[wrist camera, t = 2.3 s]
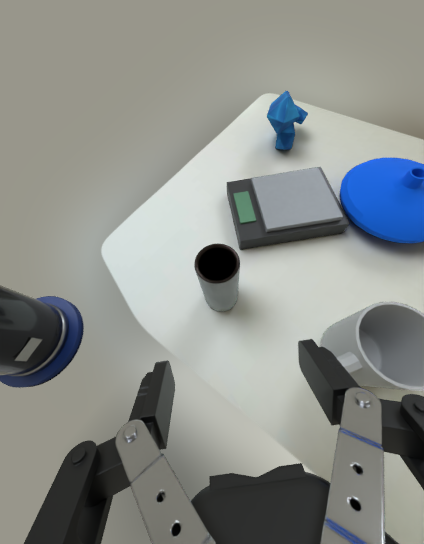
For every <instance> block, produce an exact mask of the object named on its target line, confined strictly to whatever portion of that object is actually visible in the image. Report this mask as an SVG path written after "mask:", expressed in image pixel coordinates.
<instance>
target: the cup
mask: <svg viewBox="0 0 424 544" xmlns="http://www.w3.org/2000/svg"><path fill="white" fill-rule="evenodd" d="M321 347H325V348H326V349H328V350H329V351H331V352H332V353H333V354H334V356H335V357H336V358H337V360H339V362H340V363H341V364H342V366H343V367H344V368H345V369H346V370H347V371H348V373H349V374H350V375H351V376H352V378H353V379H354V380H355V381H356V382H357V384H358V385H359V386H368V387H380V388H391V389H403V390H424V314H423V313H421V312H420V311H418V310H417V309H415V308H412V307H410V306H408V305H405V304H401V303H397V302H380V303H376V304H373V305H371V306H369V307H367V308H365V309H363V310H361V311H359V312H357V313H355V314H353V315H351V316H349V317H347V318H345V319H343V320H341V321H339V322H337V323H335V324H333V325H332V326H330V327H329V328H328V329H327V330H326V331H325V332H324V334H323V336H322V339H321Z"/></svg>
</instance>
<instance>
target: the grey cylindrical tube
mask: <svg viewBox="0 0 424 544" xmlns="http://www.w3.org/2000/svg"><path fill="white" fill-rule="evenodd" d="M195 270H196V273H197V276H198V279H199V282H200V285H201V288H202V291H203V294H204V296H205V299H206V302H207V304H208V305H209V306H210V307H211V308H212V309H214V310H216V311H227V310H229V309H231V308H232V307H233V306H234V305H235V303H236V301H237V296H238V283H239V270H240V260H239V256H238V254H237V253H236V252H235V250H234V249H232V248H231V247H229V246H227V245H224V244H212V245H209V246H206V247H205V248H203V249H202V250H201V251H200V252H199V253H198V255H197V256H196V259H195Z"/></svg>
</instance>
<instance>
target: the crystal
mask: <svg viewBox="0 0 424 544" xmlns="http://www.w3.org/2000/svg"><path fill="white" fill-rule="evenodd" d="M307 115H308V113H307V112H306V111H304V110H303V109H301V108H300V107H298V106H296V105H295V104H294V102H293V100H292V98H291V96H290V94H289V92H288V91H285V92H284V93H283V94H282V95H281V96H279V97H278V98H277V99H276V100H275V101H274V102H273V103H271V106H270V108H269V111H268V114H267V118H268V120H269V121H270V123H271V125H272V126H273V128H274V130H275V132H276V133H277V140H276V146H275V148H276V149H284V150H288V149H291V148H292V145H293V141H294V137H295V130H294V122H297V123H299V124H302V123H303V121H304V120H305V118H306V116H307Z"/></svg>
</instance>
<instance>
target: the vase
mask: <svg viewBox="0 0 424 544" xmlns="http://www.w3.org/2000/svg"><path fill="white" fill-rule="evenodd" d="M340 200H341V205H342V207H343V209H344V211H345V213H346V215H347V216H348V217H349V218H350V219H351V220H352V221H353V222H354V223H355V224H356V225H357V226H358V227H360V228H361V229H363V230H364V231H366V232H367V233H369V234H372V235H374V236H376V237H378V238H381V239H384V240H388V241H392V242H396V243H419V242H424V164H421V163H418V162H415V161H412V160H407V159H401V158H379V159H374V160H370V161H367V162H365V163H362V164H360V165H357V166H355V167H354V168H353V169H351V170H350V171H349V172H348V173H347V174H346V176H345V177H344V179H343V180H342V184H341V189H340Z"/></svg>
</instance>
